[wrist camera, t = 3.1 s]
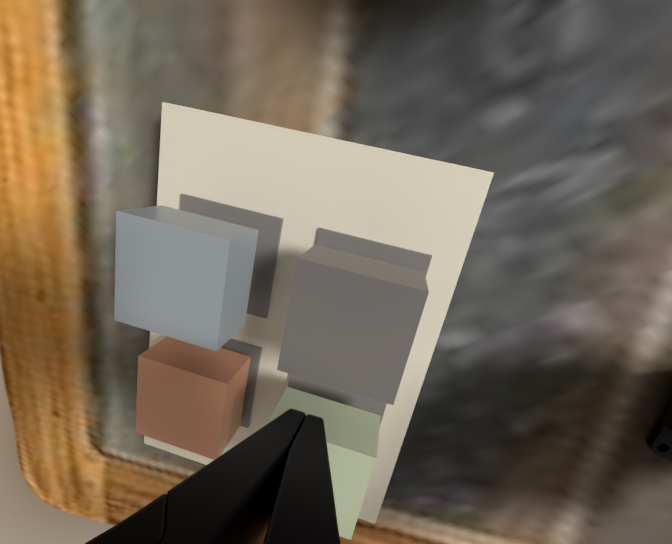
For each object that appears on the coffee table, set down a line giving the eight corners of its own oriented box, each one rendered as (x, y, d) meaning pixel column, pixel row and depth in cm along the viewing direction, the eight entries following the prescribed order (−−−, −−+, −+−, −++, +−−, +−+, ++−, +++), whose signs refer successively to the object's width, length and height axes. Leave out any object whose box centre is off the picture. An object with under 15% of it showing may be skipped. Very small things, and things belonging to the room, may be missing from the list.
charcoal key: (424, 272, 13) (429, 292, 11) (394, 369, 15) (393, 405, 12) (315, 244, 14) (297, 257, 12) (296, 340, 15) (276, 370, 13)
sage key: (380, 415, 16) (376, 458, 13) (358, 489, 17) (350, 540, 14) (287, 386, 16) (267, 422, 14) (272, 460, 17) (252, 504, 15)
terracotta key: (250, 356, 18) (227, 383, 15) (240, 425, 19) (217, 460, 17) (172, 332, 18) (138, 355, 16) (167, 401, 20) (135, 432, 17)
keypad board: (482, 173, 16) (495, 172, 14) (377, 493, 22) (374, 527, 20) (188, 110, 18) (159, 101, 16) (164, 421, 23) (141, 445, 21)
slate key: (258, 229, 14) (230, 240, 12) (244, 325, 16) (216, 351, 13) (162, 205, 15) (115, 210, 12) (156, 299, 16) (114, 320, 14)
